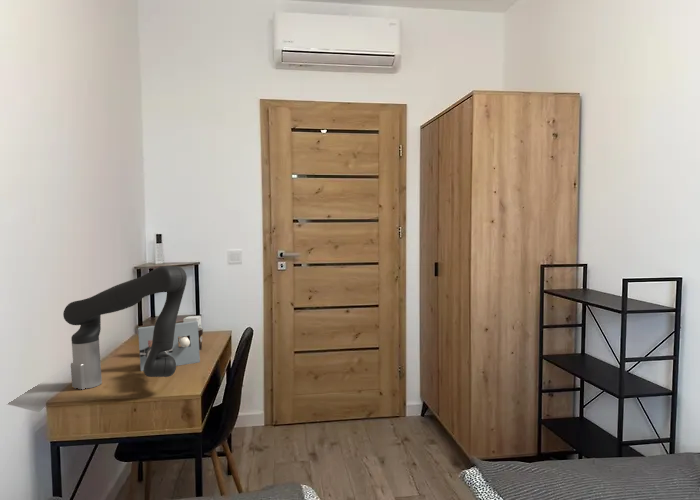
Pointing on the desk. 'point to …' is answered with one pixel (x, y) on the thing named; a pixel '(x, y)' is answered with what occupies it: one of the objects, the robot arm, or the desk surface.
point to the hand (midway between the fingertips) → (155, 346)
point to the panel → (175, 343)
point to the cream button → (184, 341)
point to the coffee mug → (200, 332)
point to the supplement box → (193, 319)
